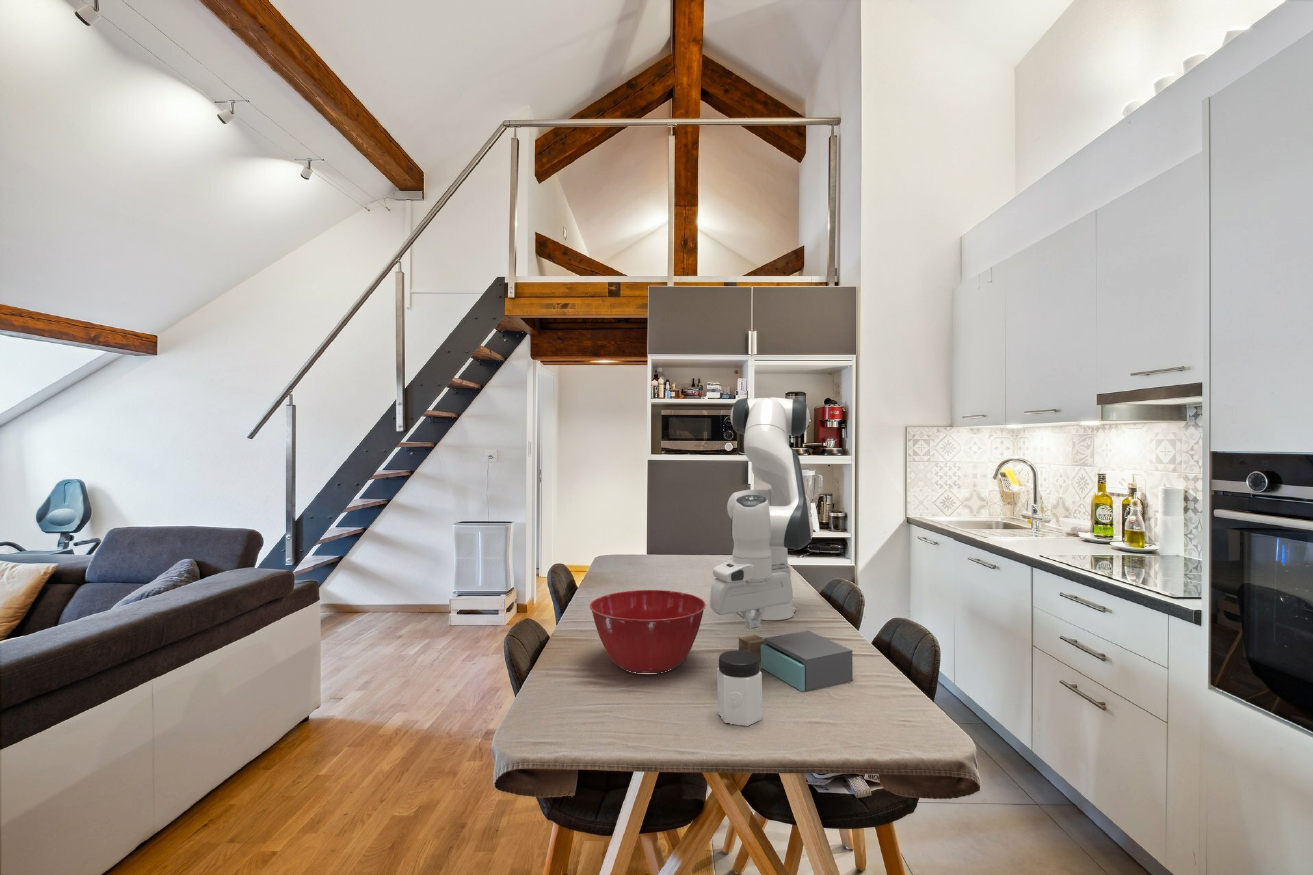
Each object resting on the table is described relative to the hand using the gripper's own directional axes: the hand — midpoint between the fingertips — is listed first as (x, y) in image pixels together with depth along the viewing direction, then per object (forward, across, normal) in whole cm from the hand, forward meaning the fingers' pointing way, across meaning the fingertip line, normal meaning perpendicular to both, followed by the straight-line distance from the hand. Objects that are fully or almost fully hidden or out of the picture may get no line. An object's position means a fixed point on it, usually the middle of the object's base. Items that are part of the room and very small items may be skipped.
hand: (752, 627), depth 142 cm
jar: (+12, +12, +14) cm, 22 cm away
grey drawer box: (+13, -14, +2) cm, 19 cm away
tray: (+12, -12, +2) cm, 18 cm away
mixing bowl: (+13, +18, -20) cm, 29 cm away
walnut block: (+13, -8, -12) cm, 19 cm away
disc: (+10, -13, +2) cm, 17 cm away
